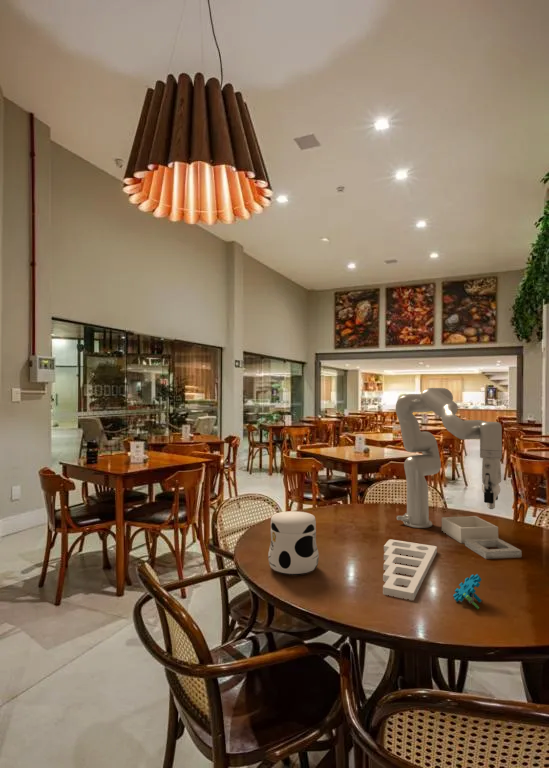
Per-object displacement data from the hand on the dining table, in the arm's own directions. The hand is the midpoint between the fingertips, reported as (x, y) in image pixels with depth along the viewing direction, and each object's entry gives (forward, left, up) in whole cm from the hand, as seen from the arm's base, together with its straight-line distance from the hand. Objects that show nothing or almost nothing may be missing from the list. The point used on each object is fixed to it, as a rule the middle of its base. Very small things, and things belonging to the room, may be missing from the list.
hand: (491, 500), depth 171 cm
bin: (+1, +18, -19) cm, 26 cm away
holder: (-41, -12, -20) cm, 47 cm away
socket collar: (0, 0, -19) cm, 19 cm away
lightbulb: (0, 0, -3) cm, 3 cm away
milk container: (-78, -8, -19) cm, 81 cm away
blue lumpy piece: (-31, -38, -19) cm, 53 cm away
